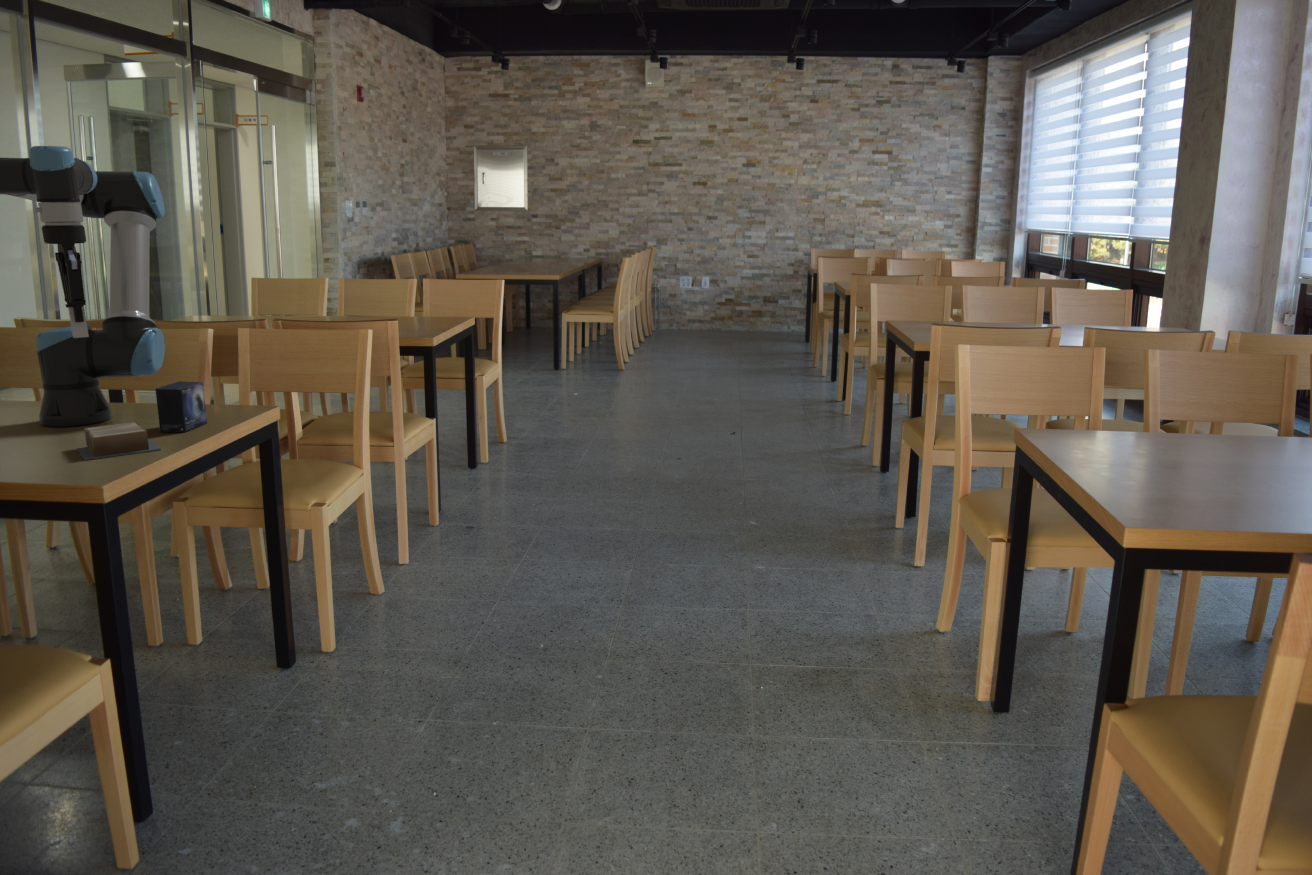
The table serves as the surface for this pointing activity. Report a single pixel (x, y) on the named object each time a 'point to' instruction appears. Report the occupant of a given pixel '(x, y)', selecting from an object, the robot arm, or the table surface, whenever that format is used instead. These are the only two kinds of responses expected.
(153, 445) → the mat
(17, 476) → the table surface
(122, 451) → the brown rectangular box
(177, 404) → the small box
